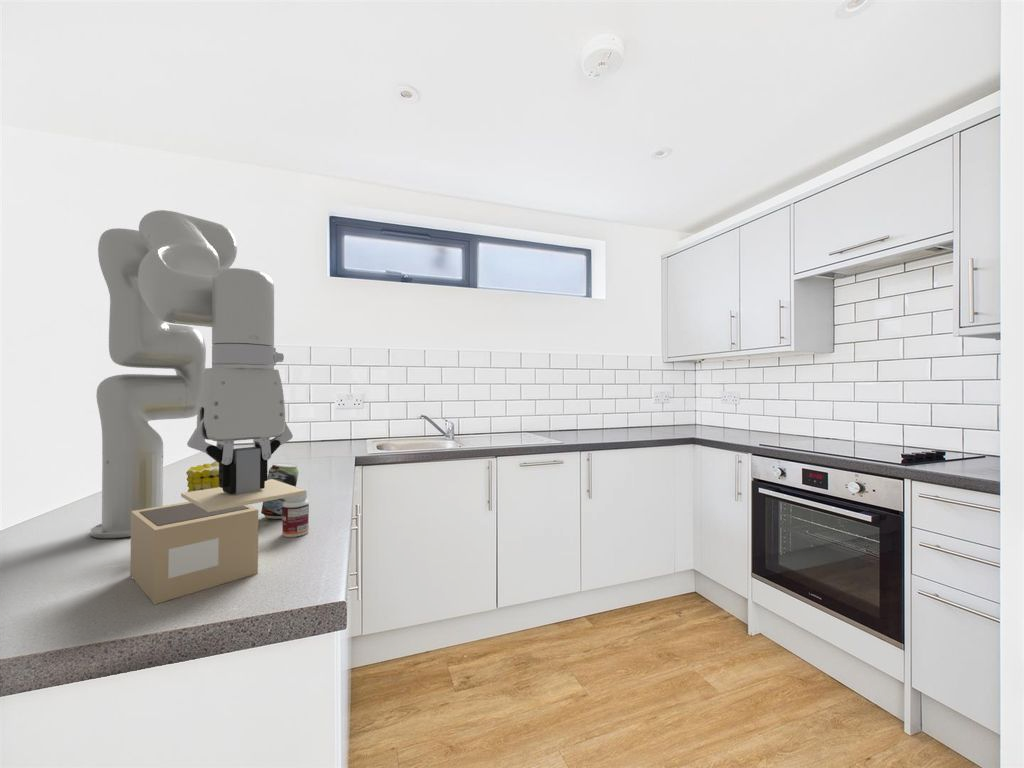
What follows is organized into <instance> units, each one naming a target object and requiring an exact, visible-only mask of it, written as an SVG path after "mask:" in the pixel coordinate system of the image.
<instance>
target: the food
mask: <svg viewBox="0 0 1024 768" xmlns="http://www.w3.org/2000/svg"><path fill="white" fill-rule="evenodd" d="M186 475H187V477H186V481H187V488H188V489H187V492H192V491H198V490H205V489H211V488H218V487H220V486H219V463H218V462H216V461H214V462H211V463H203V465H202V464H199V465H196V466H192V467H190V468H189V469H188V470H187V471H186ZM188 502H190V501H188Z"/></svg>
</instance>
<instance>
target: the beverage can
mask: <svg viewBox="0 0 1024 768" xmlns="http://www.w3.org/2000/svg"><path fill="white" fill-rule="evenodd" d="M297 466H298V465H296V464H293V463H285V462H275V463H273V464H272V466H271V467H270V468H269V469H268V471H267V480H270V479H274V480H277V481H280V482H283V483H286V484H289V485H292V486H295V487H297V483H298V482H297V481H298V478H299V470H298V468H297ZM285 501H286V500H285V498H281V499H276V500H270V501H265V502H262V505H261V507H262V508H261V512H260V513H261V514H262V515H264V517H265V518H268V519H282V515H283V514H282V513H283V512H282V511H283V510H282V506H283V503H284V502H285Z"/></svg>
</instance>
